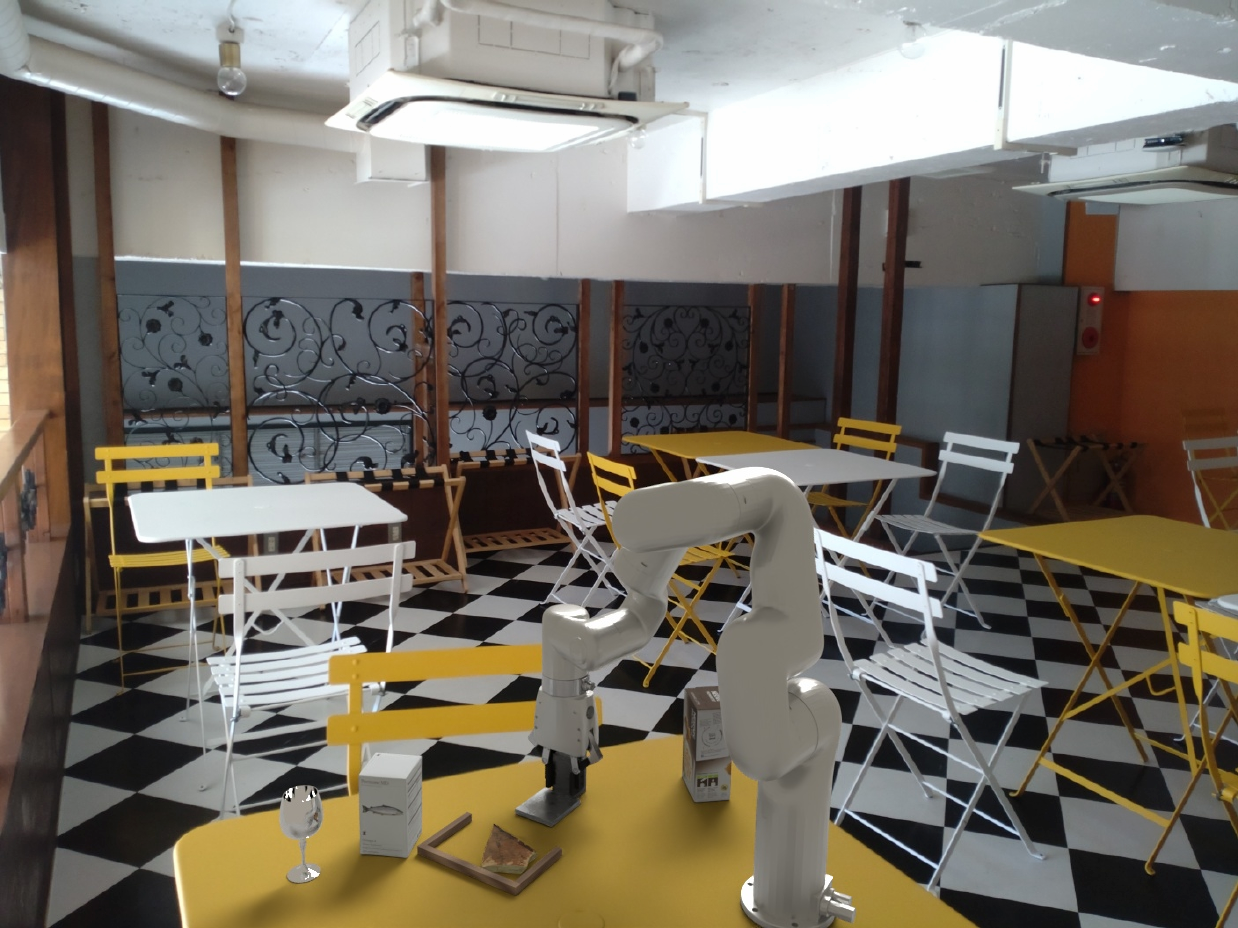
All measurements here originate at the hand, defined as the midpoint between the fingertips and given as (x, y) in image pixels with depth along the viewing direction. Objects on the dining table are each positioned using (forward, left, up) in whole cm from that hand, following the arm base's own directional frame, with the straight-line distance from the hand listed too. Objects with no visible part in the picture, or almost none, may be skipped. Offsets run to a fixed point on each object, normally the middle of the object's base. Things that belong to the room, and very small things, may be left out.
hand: (564, 787), depth 150 cm
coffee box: (-18, -15, -2) cm, 24 cm away
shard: (-1, +19, -2) cm, 19 cm away
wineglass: (+19, +37, -2) cm, 41 cm away
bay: (0, +19, -2) cm, 19 cm away
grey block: (0, +3, -2) cm, 3 cm away
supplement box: (+14, +25, -2) cm, 28 cm away
